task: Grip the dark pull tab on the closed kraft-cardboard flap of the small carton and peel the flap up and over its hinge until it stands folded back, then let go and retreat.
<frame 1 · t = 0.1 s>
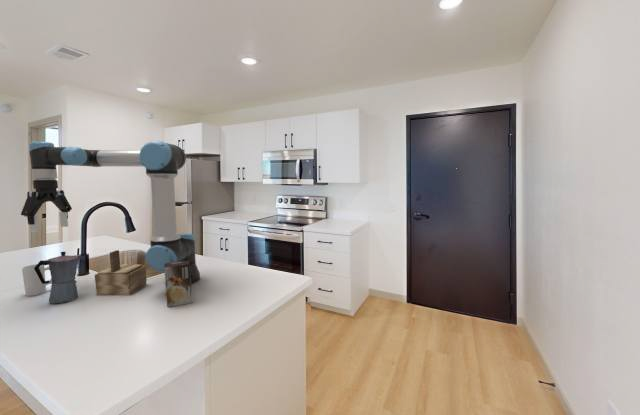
hand: (50, 229, 121), 28 cm above the counter, fingers open, 13 cm apart
moka pot: (63, 300, 116), on the counter
carton: (122, 289, 127), on the counter
flap: (120, 259, 125), point 14 cm above the counter, hinge at 0.0°
mug: (41, 292, 124), on the counter
coffee box: (179, 302, 114), on the counter
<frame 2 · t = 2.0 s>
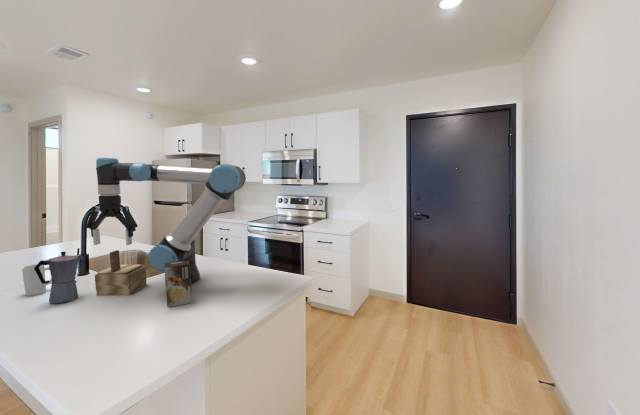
hand: (113, 244, 121), 21 cm above the counter, fingers open, 13 cm apart
nothing on the counter moved.
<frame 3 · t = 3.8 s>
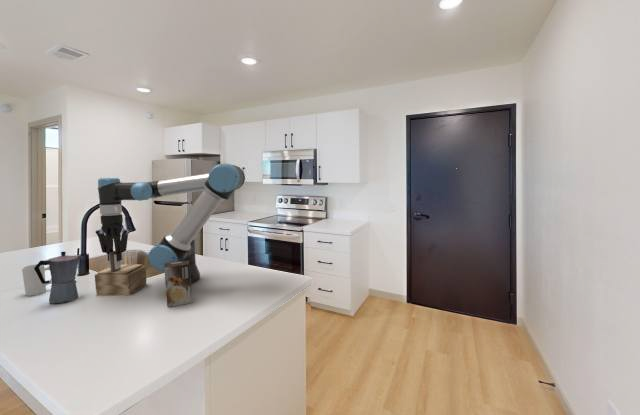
hand: (115, 268, 122), 11 cm above the counter, fingers closed on flap
flap: (120, 259, 125), point 14 cm above the counter, hinge at 0.0°, touching gripper
everything else where it was.
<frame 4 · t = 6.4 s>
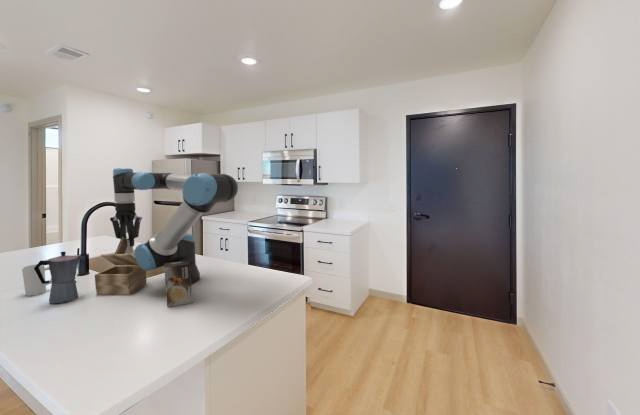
hand: (128, 253, 131), 15 cm above the counter, fingers closed on flap
flap: (125, 251, 129), point 17 cm above the counter, hinge at 39.8°, touching gripper
everything else where it was.
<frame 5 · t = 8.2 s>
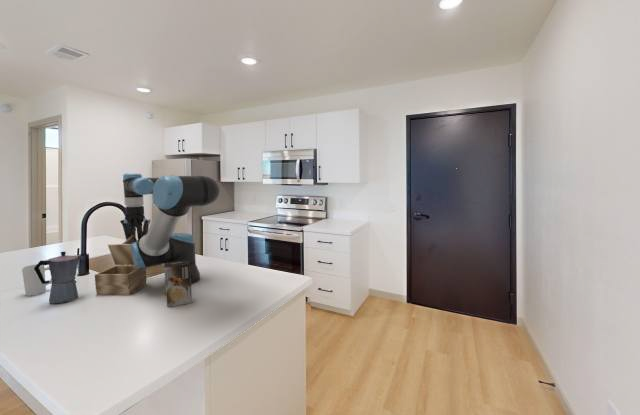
hand: (137, 254, 138), 13 cm above the counter, fingers closed on flap
flap: (131, 249, 132), point 17 cm above the counter, hinge at 69.7°, touching gripper
everything else where it was.
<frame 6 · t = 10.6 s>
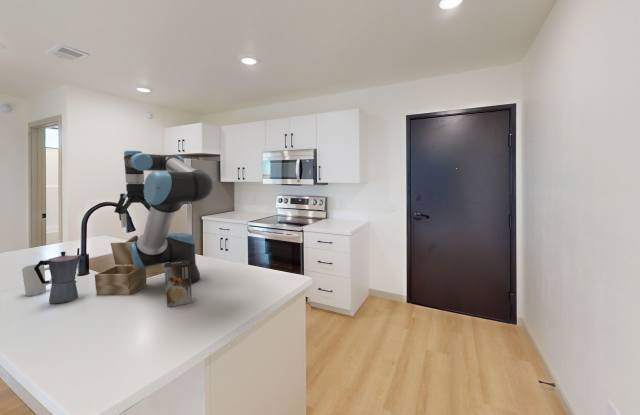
hand: (138, 227, 138), 26 cm above the counter, fingers open, 13 cm apart
flap: (132, 249, 134), point 16 cm above the counter, hinge at 78.8°
everything else where it was.
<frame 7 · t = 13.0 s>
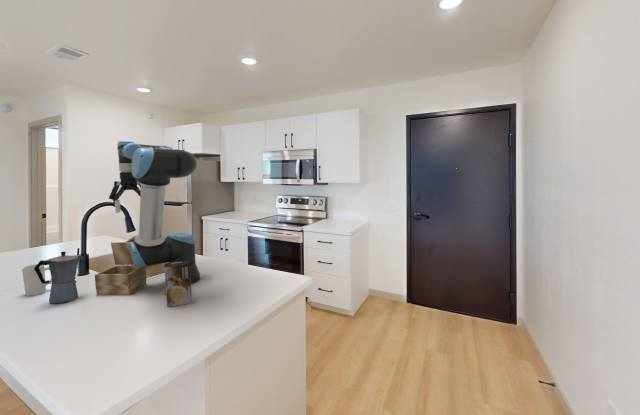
hand: (131, 212, 148), 32 cm above the counter, fingers open, 13 cm apart
flap: (132, 249, 134), point 16 cm above the counter, hinge at 79.6°
everything else where it was.
at the end: flap at +80° (first picture: +0°); the gripper is holding nothing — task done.
